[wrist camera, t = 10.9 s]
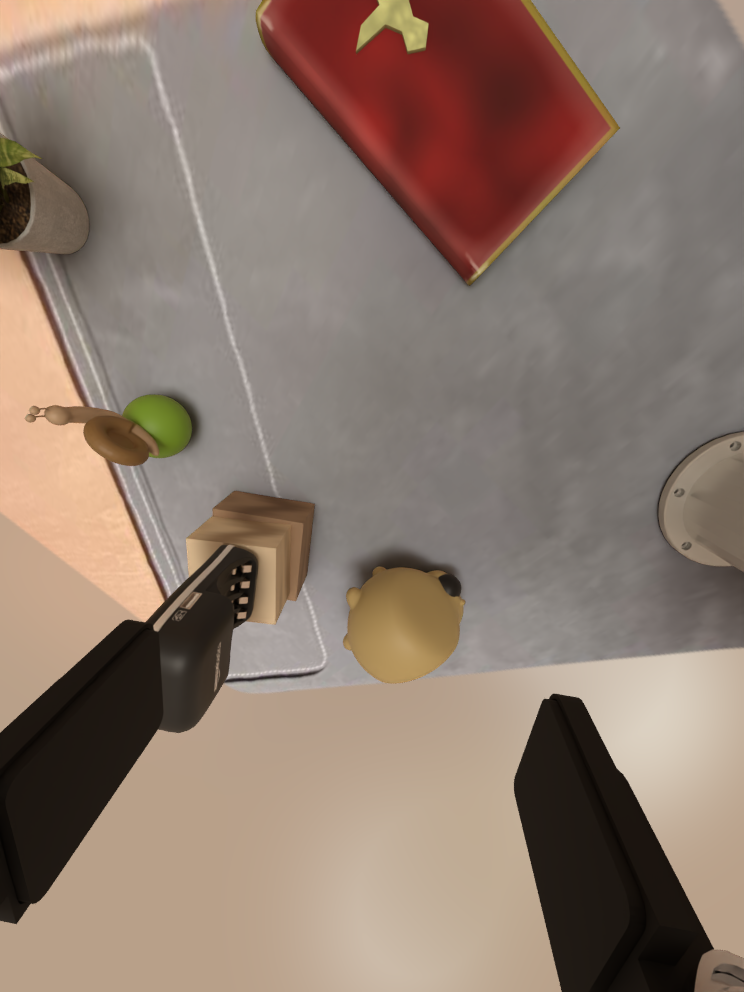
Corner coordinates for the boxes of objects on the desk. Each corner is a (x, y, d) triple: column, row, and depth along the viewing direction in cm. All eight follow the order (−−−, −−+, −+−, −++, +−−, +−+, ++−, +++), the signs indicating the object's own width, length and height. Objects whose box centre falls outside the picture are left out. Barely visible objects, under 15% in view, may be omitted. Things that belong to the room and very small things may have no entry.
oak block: (291, 524, 35) (276, 548, 30) (289, 593, 37) (275, 624, 33) (212, 516, 35) (186, 538, 31) (215, 585, 37) (191, 614, 33)
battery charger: (261, 623, 33) (191, 754, 22) (216, 613, 33) (123, 739, 22) (271, 549, 30) (197, 656, 20) (222, 538, 30) (122, 639, 20)
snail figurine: (155, 371, 36) (42, 378, 24) (213, 419, 37) (132, 446, 26) (126, 417, 37) (8, 443, 26) (183, 461, 38) (93, 505, 27)
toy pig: (401, 609, 47) (480, 663, 40) (319, 656, 39) (401, 735, 32) (413, 534, 43) (502, 580, 36) (325, 569, 35) (418, 637, 28)
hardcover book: (466, 288, 32) (476, 279, 29) (270, 61, 29) (249, 14, 25) (591, 157, 29) (622, 125, 25) (389, -121, 25) (388, -210, 21)
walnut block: (315, 503, 39) (303, 523, 34) (307, 573, 42) (295, 601, 37) (235, 490, 39) (212, 508, 35) (232, 561, 42) (211, 587, 37)
